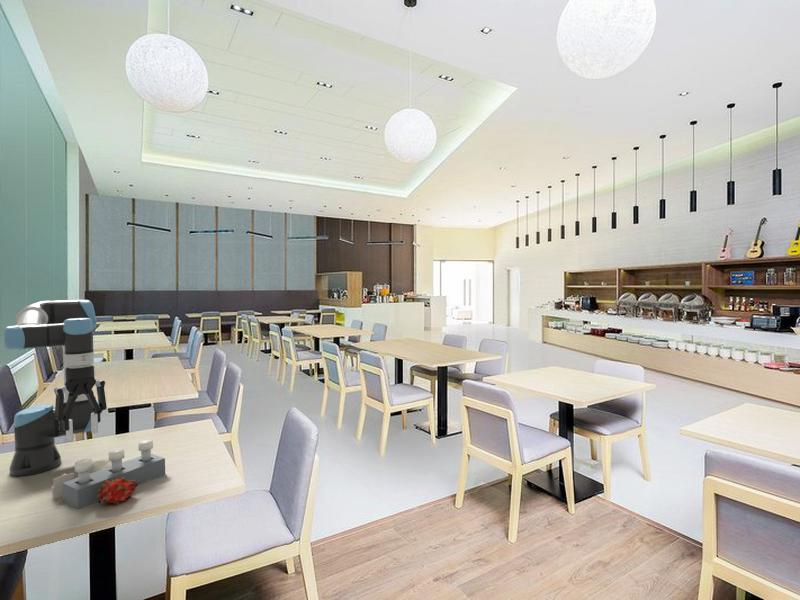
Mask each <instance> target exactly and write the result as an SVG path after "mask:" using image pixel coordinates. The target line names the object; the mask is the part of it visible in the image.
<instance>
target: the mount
mask: <svg viewBox="0 0 800 600" xmlns="http://www.w3.org/2000/svg"><path fill="white" fill-rule="evenodd" d="M164 475H166V458H165V457H163V456H160V455H157V454H154V453H151V460H149V461H146V462H142V460H141V455H139V456H137V457H134V458H131V459H128V460H125V461H122V470H121V471H119V472H116V473H112V465H111V466H108V467H105V468H102V469H99V470H95V471H93V472H91V473H90V482H88V483H85V484H82V485H79V483H78V477H76V478H75V477H74V479H72V480H70V481H67V482H64V483H63V497H62V501H63V502H65V503H67V504H68V505H70V506H72V507H73V508H76V509H82V508H84V507H86V506H88V505H91V504H94V503H96V502H99V500H101V499H100V498H97V496H96V495H97V490H98V489H99V488H100V487H101V485H103V484H106V482H105V481H111V480H113V479H115V478H117V479H120V478H121V477H124V478H125V480H135V481H136V482H137V483H138V486H139V485H142V484H144V483H147V482H150V481H151V480H155V479H157V478H159V477H162V476H164ZM137 483H136V484H137ZM101 501H102V500H101Z"/></svg>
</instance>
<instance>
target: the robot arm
mask: <svg viewBox="0 0 800 600" xmlns="http://www.w3.org/2000/svg"><path fill="white" fill-rule="evenodd" d="M14 321H15V324H16V325H10V326H9V325H8V326H6V327H5V328H4V330H3V333H4V334H3V340H4V341H3V342H4V348H5V349H7V350H11V351H12V350H19V351H20V350H25V349H28V350H29V349H36V348H37V349H38V348H49V347H50V348H52V347H62V358H63V382H64V384H63V385H62V386H61V387H56V388H54V389H53V391H54V394H55V405H53V404H52V403H47V404H44V403H43V404H38V405H35V406H30V407H28V408H25V409H23V410H22V409H21V410H20V411H19V412H17V413H16V414H15V415H14V416H13V417H14V418H13V428H14V453H13V457H12V460H11V463H10V466H9V475H10V476H15V477H23V476H24V477H25V476H31V475H36V474H40V473H43V472H47V471H51V470H52V469H55V468H57V467H58V466H60V465H61V463H62V457H61V454H60V452H59V450H58V447H57V446H56V444H55V438H60V437H64V436H65V439H66V440H67V441H70V442H71V441H73V440H74V435H76V434H81V433H82V434H85V433H88V432H91V433H92V434H95V435H97V434H99V423H100V422H101V421H102V420H101V414H102V413H103V411H105V410H107V407H108V406H107V400H106V393H105V391H106V390H105V386H106V381H105V380H101V379H98V380H97V379H96V378H95V366H94V365H93V364H94V363H95V359H94V358H95V354H94V328H96V327H97V323H98V322H97V317H96V311H95V307H94V304H93V303H92V301H91V300H89V299H65V300H64V299H61V300H57V299H56V300H41V301H37V302H33V303H31V304H28V305H25V306H23V307H22V308H21V309H20V308H19V310H18V311H17V312H16V314H15V317H14ZM94 386H95V387H96V394H97V397H96V396H95V394H94V390H93V388H94Z"/></svg>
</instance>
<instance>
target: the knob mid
mask: <svg viewBox="0 0 800 600" xmlns="http://www.w3.org/2000/svg"><path fill="white" fill-rule="evenodd" d="M107 454H108V461H110V462H111V466H112V473H116V472H119V471H121V470H122V462H123V459H124V458H125V448H116V449H112V450H109V451H108V453H107Z"/></svg>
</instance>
